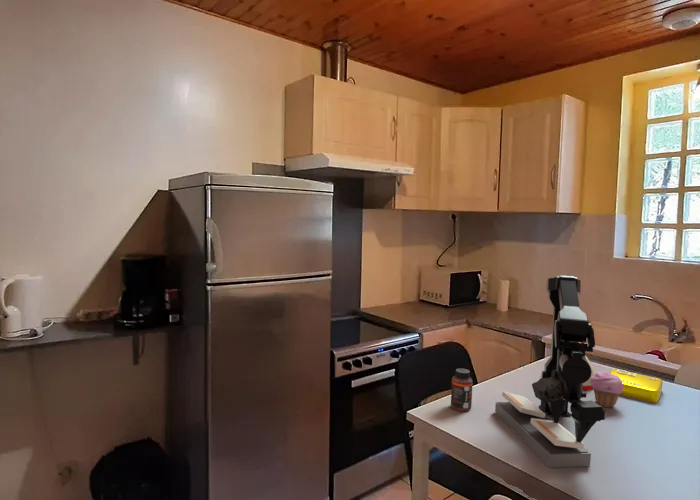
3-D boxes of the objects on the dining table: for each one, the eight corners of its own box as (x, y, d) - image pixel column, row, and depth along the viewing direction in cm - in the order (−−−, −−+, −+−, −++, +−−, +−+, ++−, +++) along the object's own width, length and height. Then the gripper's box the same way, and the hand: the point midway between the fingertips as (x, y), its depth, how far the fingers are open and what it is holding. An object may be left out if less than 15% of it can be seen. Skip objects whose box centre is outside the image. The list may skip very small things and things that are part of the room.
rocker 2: (555, 425, 111) (556, 421, 111) (583, 448, 100) (584, 443, 100) (530, 422, 111) (531, 417, 110) (555, 445, 100) (556, 439, 100)
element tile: (602, 391, 146) (603, 377, 146) (611, 379, 158) (612, 366, 157) (657, 405, 136) (658, 390, 136) (662, 391, 148) (663, 377, 148)
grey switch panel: (527, 411, 128) (528, 400, 128) (590, 466, 100) (591, 451, 100) (495, 412, 127) (495, 400, 127) (548, 467, 99) (549, 453, 99)
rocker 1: (523, 400, 127) (524, 396, 127) (544, 418, 116) (545, 413, 116) (501, 395, 126) (503, 390, 126) (520, 412, 115) (522, 407, 115)
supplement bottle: (472, 413, 126) (474, 375, 125) (450, 410, 127) (452, 373, 126) (470, 404, 132) (472, 368, 131) (450, 402, 133) (452, 366, 132)
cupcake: (586, 397, 140) (588, 366, 139) (616, 400, 138) (618, 370, 137) (593, 408, 132) (595, 376, 131) (625, 412, 129) (628, 380, 128)
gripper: (518, 357, 113) (516, 415, 114) (561, 384, 95) (557, 454, 96) (559, 356, 114) (556, 414, 115) (609, 383, 96) (605, 451, 97)
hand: (566, 432), depth 106 cm, fingers open, 9 cm apart
